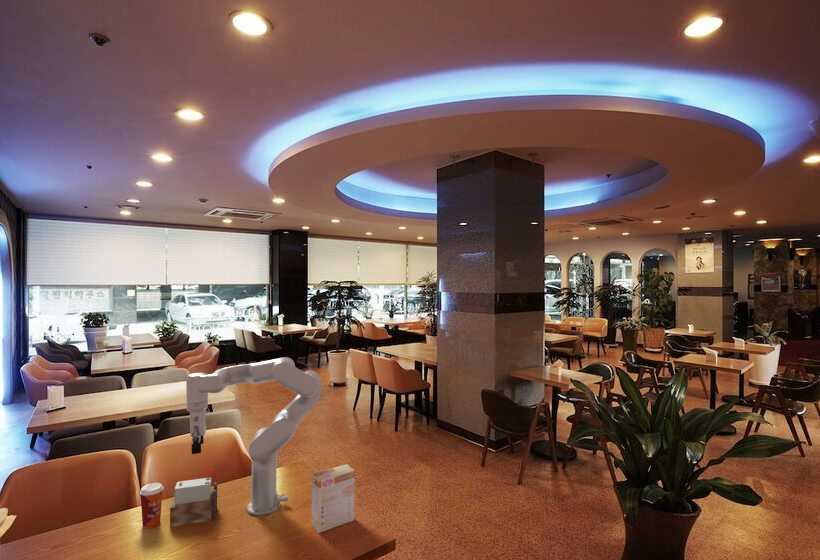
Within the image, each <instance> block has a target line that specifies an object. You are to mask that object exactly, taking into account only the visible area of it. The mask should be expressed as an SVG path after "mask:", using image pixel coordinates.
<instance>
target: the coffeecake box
mask: <svg viewBox="0 0 820 560" xmlns="http://www.w3.org/2000/svg"><path fill="white" fill-rule="evenodd" d="M355 472H356V471H355V469H354V468H352V467H351V466H350V465H349V464H346V463H345V464H342V465H339V466H335V467H332V468H328V469H324V470H322V471H317V472H314V473H311V526H312V528H314V529H315V531H316V532H317V534H321V533H323V532H325V531H329V530H330V529H334V528H336V527H340V526H342V525H346V524H348V523H350V522H353V521H355V484H356V483H355V481H356V480H355Z"/></svg>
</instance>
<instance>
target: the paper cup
mask: <svg viewBox="0 0 820 560" xmlns="http://www.w3.org/2000/svg"><path fill="white" fill-rule="evenodd" d="M163 490H164V485H162V483H161V482H151V483H148V484H145V485H144V486H142V487H141V489H140V491H139V494H140V503H141V507H140V508H141V520H142V522H141V523H142V527H143V529H152V528H154V527H157V526H159V524H160V523H161V517H162V515H161V514H162V504H163V503H162V502H163Z"/></svg>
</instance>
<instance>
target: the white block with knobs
mask: <svg viewBox="0 0 820 560" xmlns="http://www.w3.org/2000/svg"><path fill="white" fill-rule="evenodd" d="M211 490H212V477H203V478H196V479H195V478H194V479H189V480H182V481H181V480H180V481H177V482H176V485H175V487H174V497H175V505H177V504H184V503H191V502H198V501H204V500H210V495H211Z"/></svg>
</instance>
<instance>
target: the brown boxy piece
mask: <svg viewBox="0 0 820 560" xmlns="http://www.w3.org/2000/svg"><path fill="white" fill-rule="evenodd" d="M217 509H218V482H214V483H213V489H211V495H210V500H204V501H198V502H191V503H184V504H177V505H175V496H174V498H173V499H172V503H171V504H170V508H169V527H177V526H183V525H188V524H196V523H197V524H198V523H204V522H211V521H212V519H216V511H217Z"/></svg>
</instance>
